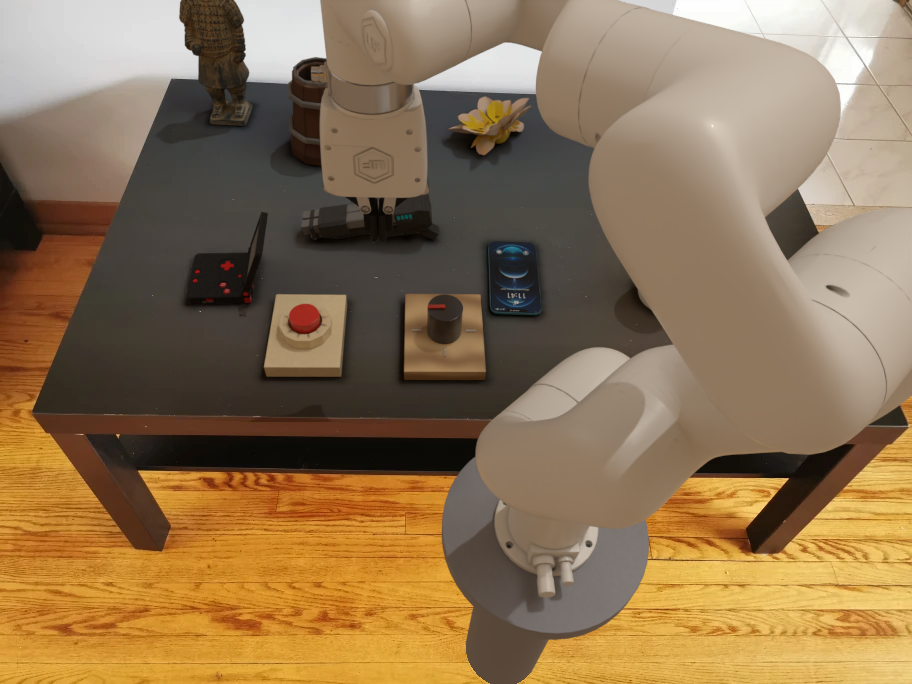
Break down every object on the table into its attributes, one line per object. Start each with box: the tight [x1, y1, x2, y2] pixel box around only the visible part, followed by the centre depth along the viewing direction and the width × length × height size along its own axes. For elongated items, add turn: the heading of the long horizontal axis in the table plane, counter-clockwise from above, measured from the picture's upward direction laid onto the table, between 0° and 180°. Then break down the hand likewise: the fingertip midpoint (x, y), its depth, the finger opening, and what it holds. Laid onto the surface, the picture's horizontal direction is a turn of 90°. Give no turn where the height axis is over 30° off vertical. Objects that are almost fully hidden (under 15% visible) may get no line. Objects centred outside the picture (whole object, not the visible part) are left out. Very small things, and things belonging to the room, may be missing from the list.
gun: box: [300, 193, 440, 241], centre depth 111 cm, size 4×20×10 cm, turn 92°
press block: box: [263, 293, 348, 378], centre depth 98 cm, size 13×10×4 cm
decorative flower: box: [446, 96, 532, 156], centre depth 127 cm, size 15×11×10 cm
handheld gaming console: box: [185, 211, 269, 305], centre depth 101 cm, size 9×12×10 cm
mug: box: [287, 56, 327, 167], centre depth 122 cm, size 16×12×15 cm
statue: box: [178, 0, 253, 127], centre depth 119 cm, size 10×8×30 cm
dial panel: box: [403, 293, 487, 381], centre depth 99 cm, size 14×11×2 cm
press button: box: [289, 304, 320, 334], centre depth 96 cm, size 4×4×2 cm
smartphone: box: [487, 240, 542, 316], centre depth 108 cm, size 8×1×15 cm
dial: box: [427, 293, 463, 344], centre depth 97 cm, size 5×5×5 cm
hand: (379, 233), depth 77 cm, fingers closed
